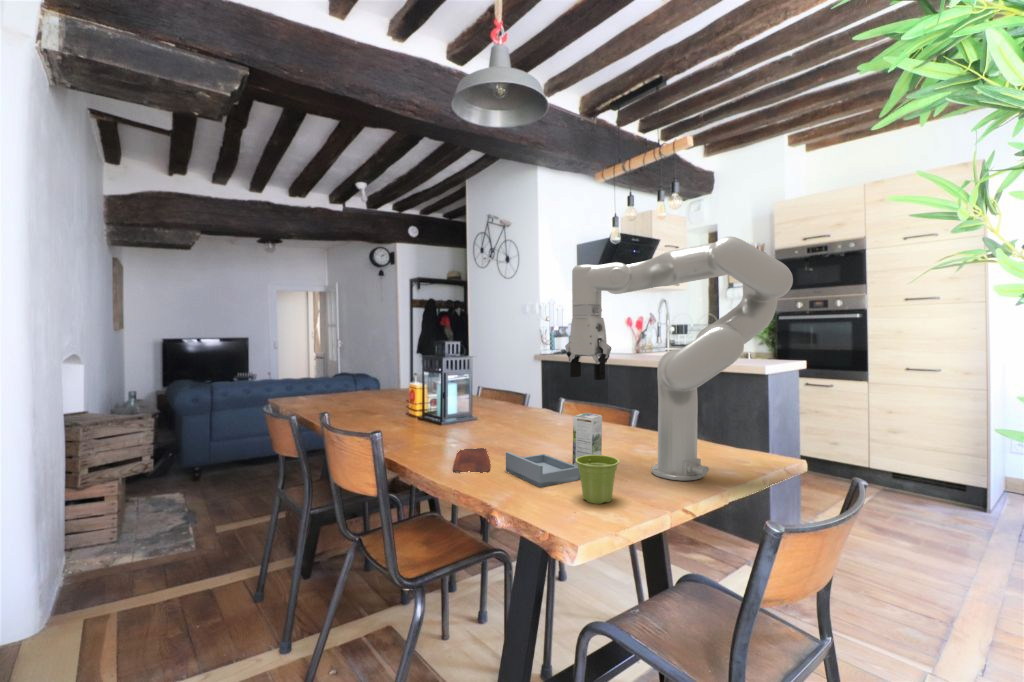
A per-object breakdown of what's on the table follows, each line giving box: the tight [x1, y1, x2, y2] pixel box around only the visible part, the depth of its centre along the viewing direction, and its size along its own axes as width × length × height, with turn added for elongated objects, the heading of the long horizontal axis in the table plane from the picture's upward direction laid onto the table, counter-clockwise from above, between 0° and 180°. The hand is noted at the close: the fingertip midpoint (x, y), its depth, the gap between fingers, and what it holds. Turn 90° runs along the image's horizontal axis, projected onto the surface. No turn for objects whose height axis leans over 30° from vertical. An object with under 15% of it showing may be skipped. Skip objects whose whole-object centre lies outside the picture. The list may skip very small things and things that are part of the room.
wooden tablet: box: [452, 447, 492, 474], centre depth 144 cm, size 27×10×2 cm, turn 3°
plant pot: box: [576, 454, 620, 505], centre depth 111 cm, size 9×9×9 cm
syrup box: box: [571, 412, 603, 466], centre depth 134 cm, size 6×6×14 cm
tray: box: [505, 451, 581, 488], centre depth 129 cm, size 16×12×5 cm
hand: (587, 378), depth 133 cm, fingers open, 9 cm apart
